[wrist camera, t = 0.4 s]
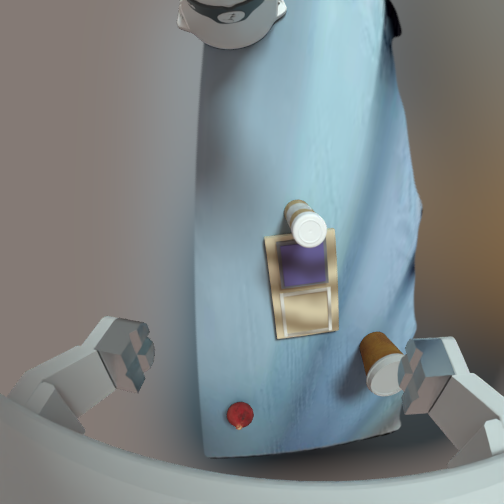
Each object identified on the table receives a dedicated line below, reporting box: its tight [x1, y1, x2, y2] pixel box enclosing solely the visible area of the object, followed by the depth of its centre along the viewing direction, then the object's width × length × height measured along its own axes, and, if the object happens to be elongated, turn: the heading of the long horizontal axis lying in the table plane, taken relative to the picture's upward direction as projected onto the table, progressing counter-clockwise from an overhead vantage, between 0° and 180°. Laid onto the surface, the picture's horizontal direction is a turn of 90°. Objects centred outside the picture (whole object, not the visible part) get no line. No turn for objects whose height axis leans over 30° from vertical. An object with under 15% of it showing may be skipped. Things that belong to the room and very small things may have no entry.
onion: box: [227, 402, 254, 430], centre depth 62 cm, size 6×6×8 cm
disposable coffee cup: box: [360, 332, 405, 396], centre depth 55 cm, size 10×10×12 cm
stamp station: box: [264, 228, 339, 339], centre depth 55 cm, size 20×12×2 cm, turn 8°
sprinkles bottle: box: [284, 200, 327, 248], centre depth 46 cm, size 5×4×13 cm
